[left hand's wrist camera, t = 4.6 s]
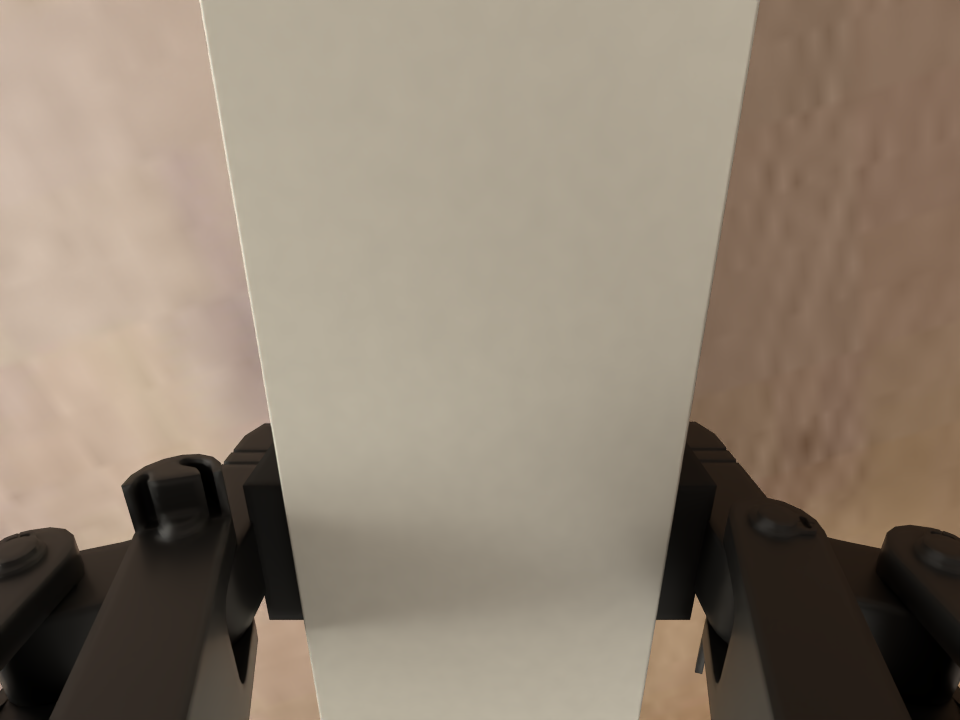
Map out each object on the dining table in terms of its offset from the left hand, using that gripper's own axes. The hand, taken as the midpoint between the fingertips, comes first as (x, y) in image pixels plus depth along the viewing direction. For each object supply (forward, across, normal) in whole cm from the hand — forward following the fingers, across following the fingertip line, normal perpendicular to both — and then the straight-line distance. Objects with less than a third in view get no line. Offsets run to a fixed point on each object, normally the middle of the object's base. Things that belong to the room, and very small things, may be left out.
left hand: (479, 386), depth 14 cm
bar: (+1, 0, -31) cm, 31 cm away
